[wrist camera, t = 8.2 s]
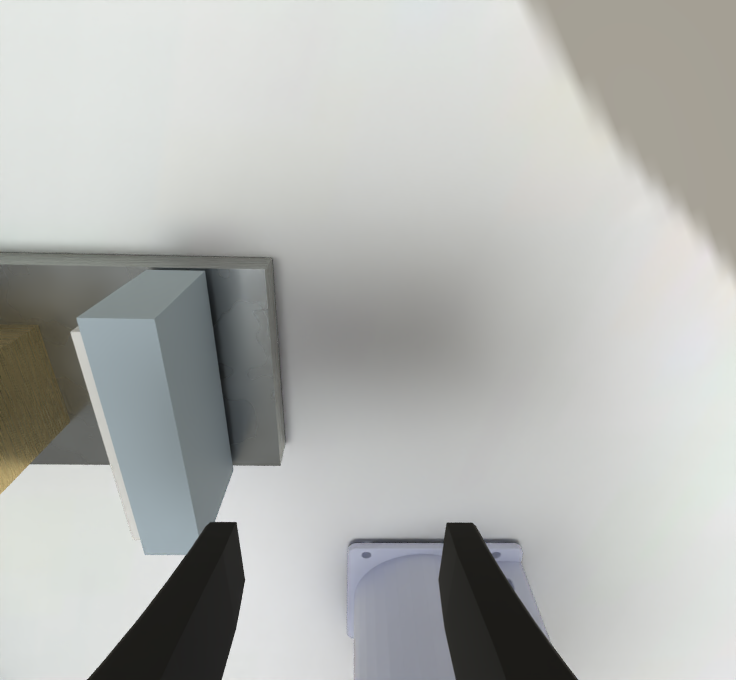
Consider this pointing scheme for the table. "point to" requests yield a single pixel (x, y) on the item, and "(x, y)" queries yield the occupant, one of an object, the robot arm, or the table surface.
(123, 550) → the table surface
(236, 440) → the vise
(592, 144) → the table surface
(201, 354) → the sliding jaw
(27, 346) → the brass block
